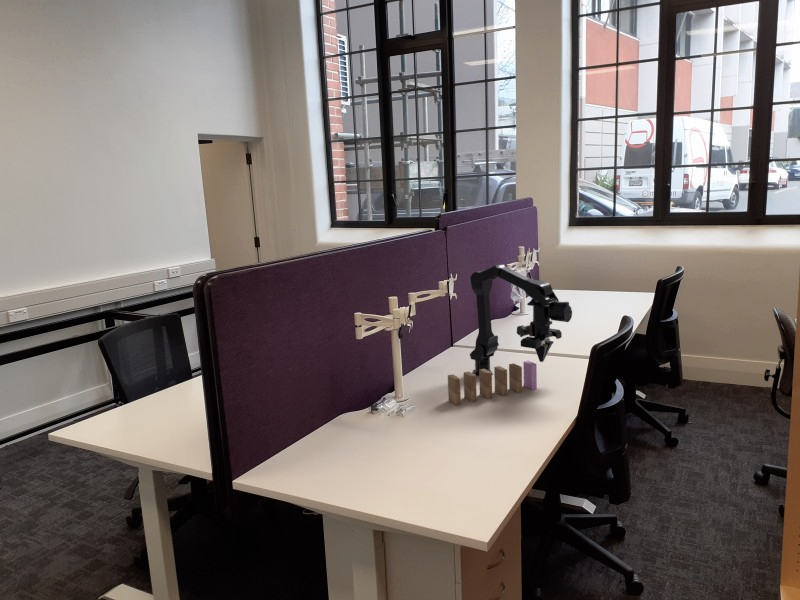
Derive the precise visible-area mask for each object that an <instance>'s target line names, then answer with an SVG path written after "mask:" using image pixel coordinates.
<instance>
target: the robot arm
mask: <svg viewBox="0 0 800 600" xmlns="http://www.w3.org/2000/svg"><path fill="white" fill-rule="evenodd" d="M498 278H499V279H501V280H503V281H505V282H507V283H508V284H509V283H510V284H511V285H512V286H515V287H516V288H519V289H521V290H522V291H524V292H525V294H526V296H528V297H530V298H531V300H530V301H529V302H527V303H526V304H527V306H530V307H532V321H530V322H529V325H528V324H527V325H523V324H522V325H518V326H517V327H516V334H517V335H518V336H519V337H520V338H521V340H520V347H523V348H528V349H534V350H535V351H536V352H535V353H536V354H537V358H538V361H539V362H540V363H544V361H545V359H546V357H547V355H548V354H549V353H548V352H549V351H550V349H551V347H552V345H553V344H554V342H555V341H552V340H551V339H550V338H551V337H555V339H556V340H559V339H561V338H562V337H563V336H562V334H563V333H562V331H561V330H560V329H556V328H551V326H550V325H553V321H555V322H564V323H569V322H570V321H571V320H572V316H573V310H572V307H571V305H570V302H569V301H560V300H559V298H558V297H557V295H556V294H555V292H554V290H553V287H552V284H551V283H549V282H547V281H543V280H539V279H534V278H530V277H527V276H526V275H523V274H521V273H520V272H518V271H515V270H513V269H511V268H509V267H507V266H505V264H502V263H499V264H496V265H493V266H491V267H490V268H487V269H483V270H479V271H475V272H472V274H471V275H470V277H469V280H470V286H471V289H472V291H473V293H474V294H475V299H476V310H477V311H476V312H477V325H478V327H477V328H478V334H477V336H476V338H475V348H474V349H473V350H471V352H470V353H469V358H470V360H472V361H474V369H473V370H472V372H473V374H474V375H476V377H479V370H480V369H486V370H488V371H490V372H492V370H491V359H490V358H491V357H494V355H495V353H496V351H497V350H498V347H499V346H500V344H499V341H498V340H499V336H498V334H497V335H495V334H494V333H493V328H492V316H491V315H492V314H491V302H490V292H491V290H492V288H493V280H495V279H498ZM528 335H529V336H528ZM525 336H526V337H525ZM493 373H494V372H492V376H494V375H493Z"/></svg>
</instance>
